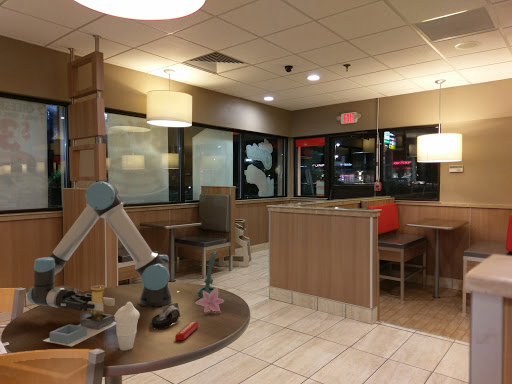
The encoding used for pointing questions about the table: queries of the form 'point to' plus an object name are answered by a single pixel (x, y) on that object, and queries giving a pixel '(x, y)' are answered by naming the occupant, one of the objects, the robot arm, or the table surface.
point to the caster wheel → (166, 316)
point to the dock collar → (68, 334)
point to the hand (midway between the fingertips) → (108, 304)
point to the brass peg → (99, 298)
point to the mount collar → (97, 322)
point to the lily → (210, 301)
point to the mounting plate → (89, 334)
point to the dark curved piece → (208, 277)
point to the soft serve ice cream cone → (126, 325)
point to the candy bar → (186, 331)
